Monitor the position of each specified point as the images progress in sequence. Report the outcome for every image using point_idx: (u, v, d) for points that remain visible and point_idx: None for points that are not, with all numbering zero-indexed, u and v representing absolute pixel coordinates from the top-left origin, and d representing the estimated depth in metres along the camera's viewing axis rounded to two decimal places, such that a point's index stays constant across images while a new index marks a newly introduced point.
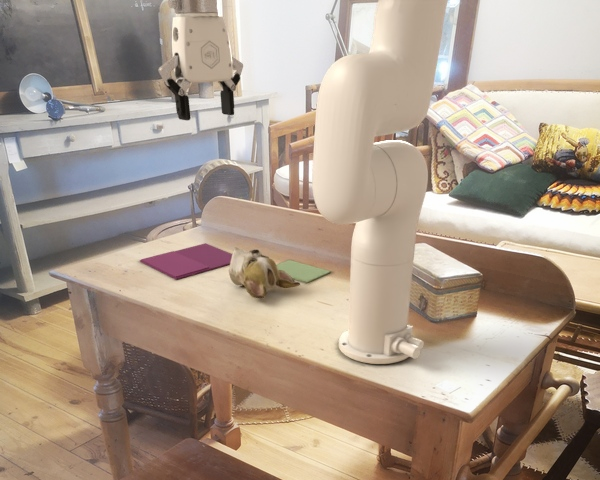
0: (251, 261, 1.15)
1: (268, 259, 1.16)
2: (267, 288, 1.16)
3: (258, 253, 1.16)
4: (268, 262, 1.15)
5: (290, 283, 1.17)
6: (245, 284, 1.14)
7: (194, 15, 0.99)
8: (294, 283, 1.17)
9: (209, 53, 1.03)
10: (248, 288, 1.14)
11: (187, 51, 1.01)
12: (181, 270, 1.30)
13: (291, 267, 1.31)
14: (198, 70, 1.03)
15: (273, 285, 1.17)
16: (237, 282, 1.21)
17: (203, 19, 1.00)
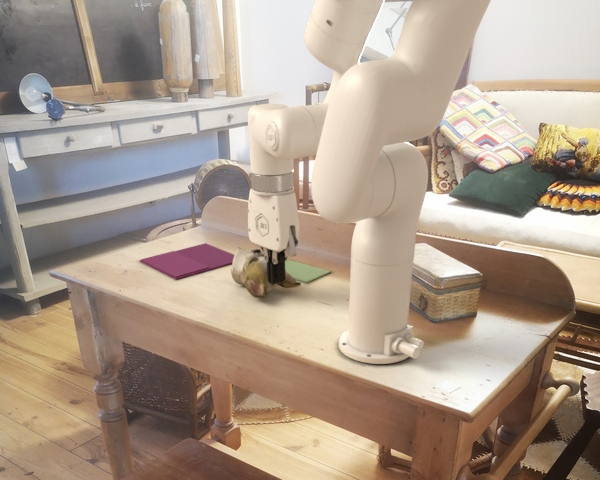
0: (252, 261, 1.15)
1: None
2: (268, 288, 1.17)
3: (259, 253, 1.16)
4: None
5: (291, 283, 1.17)
6: (246, 283, 1.15)
7: None
8: (295, 283, 1.17)
9: (261, 224, 1.07)
10: (248, 287, 1.14)
11: (248, 216, 1.10)
12: (181, 270, 1.30)
13: (291, 267, 1.31)
14: (254, 234, 1.10)
15: (274, 285, 1.17)
16: (239, 281, 1.21)
17: (258, 195, 1.05)
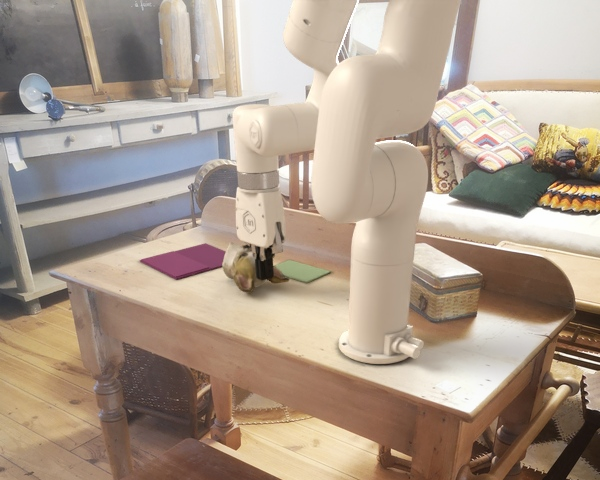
0: (242, 256, 1.18)
1: None
2: (256, 282, 1.19)
3: (249, 248, 1.19)
4: None
5: (279, 278, 1.19)
6: (234, 278, 1.17)
7: (238, 188, 1.08)
8: (283, 279, 1.19)
9: (248, 221, 1.10)
10: (236, 282, 1.17)
11: (236, 215, 1.12)
12: (181, 270, 1.30)
13: (291, 267, 1.31)
14: (241, 232, 1.13)
15: (263, 280, 1.20)
16: (230, 276, 1.24)
17: (245, 193, 1.08)
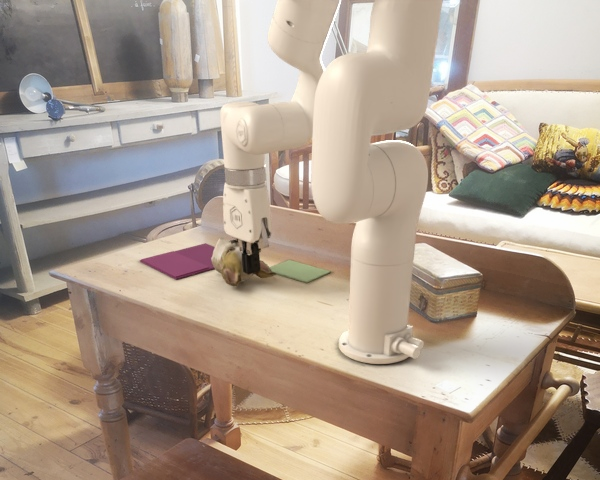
0: (229, 250, 1.21)
1: None
2: (243, 277, 1.22)
3: (237, 243, 1.22)
4: None
5: (266, 273, 1.22)
6: (221, 272, 1.20)
7: None
8: (270, 273, 1.22)
9: (235, 216, 1.12)
10: (223, 275, 1.20)
11: (223, 209, 1.15)
12: (181, 270, 1.30)
13: (291, 267, 1.31)
14: (229, 226, 1.15)
15: (250, 274, 1.22)
16: (219, 270, 1.27)
17: (232, 188, 1.10)
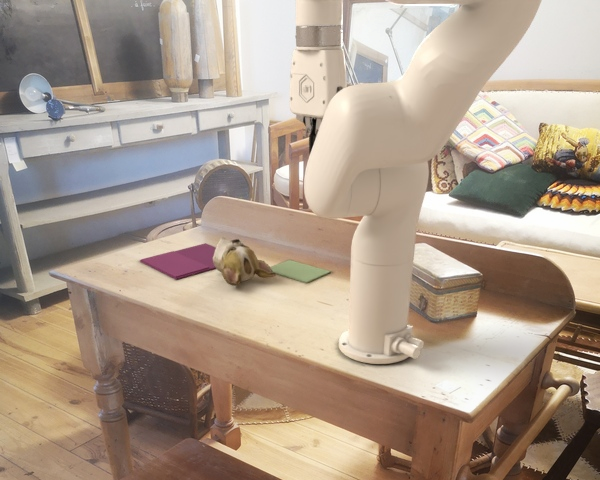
0: (230, 250, 1.21)
1: (247, 249, 1.21)
2: (244, 276, 1.22)
3: (238, 243, 1.22)
4: (245, 251, 1.21)
5: (266, 273, 1.22)
6: (222, 271, 1.21)
7: (296, 48, 0.98)
8: (270, 273, 1.22)
9: (306, 87, 0.99)
10: (224, 275, 1.20)
11: (290, 83, 1.02)
12: (181, 270, 1.30)
13: (291, 267, 1.31)
14: (296, 102, 1.02)
15: (250, 274, 1.22)
16: (220, 269, 1.27)
17: (304, 53, 0.97)
